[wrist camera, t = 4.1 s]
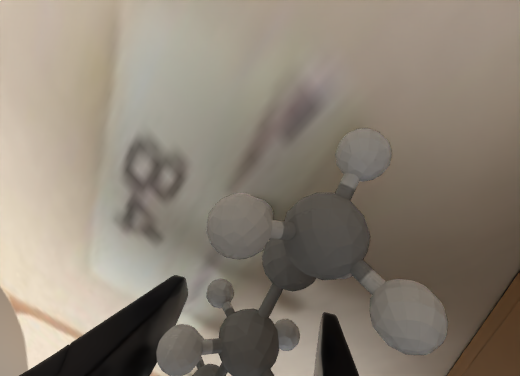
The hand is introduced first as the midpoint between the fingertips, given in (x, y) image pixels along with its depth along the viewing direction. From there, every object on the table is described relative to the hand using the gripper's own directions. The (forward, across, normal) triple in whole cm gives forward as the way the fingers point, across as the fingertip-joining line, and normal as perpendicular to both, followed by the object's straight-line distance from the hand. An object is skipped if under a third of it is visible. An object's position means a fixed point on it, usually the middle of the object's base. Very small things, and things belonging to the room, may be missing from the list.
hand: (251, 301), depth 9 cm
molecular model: (+1, 0, 0) cm, 1 cm away
